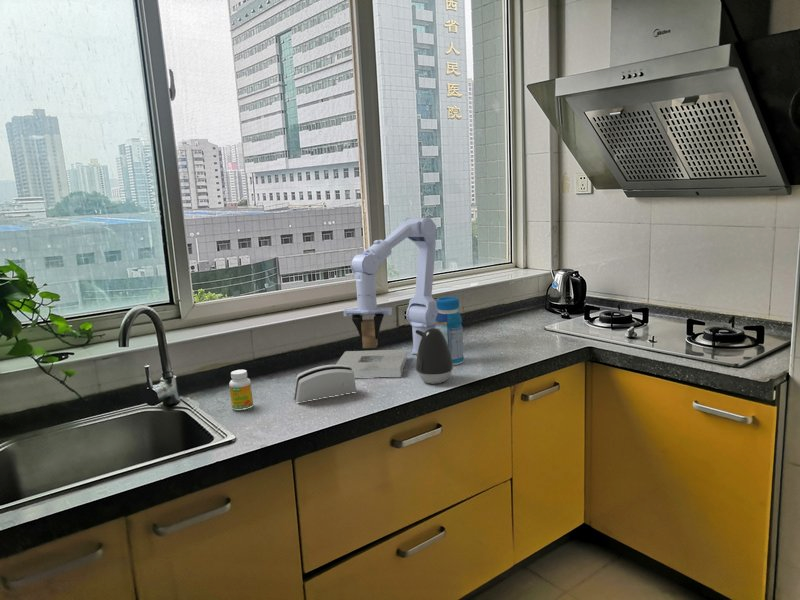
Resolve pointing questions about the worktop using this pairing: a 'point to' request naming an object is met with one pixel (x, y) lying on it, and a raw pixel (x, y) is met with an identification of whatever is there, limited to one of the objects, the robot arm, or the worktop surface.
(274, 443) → the worktop surface
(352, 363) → the grey flat square slab
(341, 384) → the napkin holder
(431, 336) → the pump dispenser
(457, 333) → the beverage bottle
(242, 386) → the supplement bottle
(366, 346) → the wedge peg
